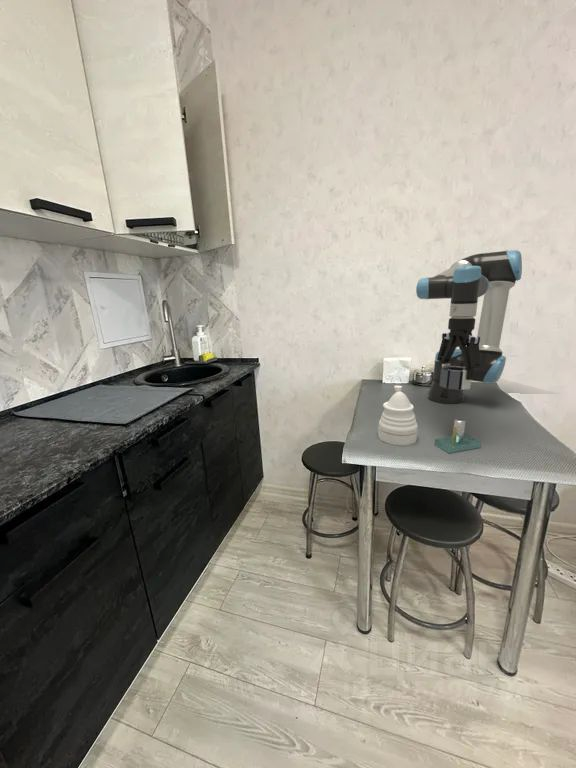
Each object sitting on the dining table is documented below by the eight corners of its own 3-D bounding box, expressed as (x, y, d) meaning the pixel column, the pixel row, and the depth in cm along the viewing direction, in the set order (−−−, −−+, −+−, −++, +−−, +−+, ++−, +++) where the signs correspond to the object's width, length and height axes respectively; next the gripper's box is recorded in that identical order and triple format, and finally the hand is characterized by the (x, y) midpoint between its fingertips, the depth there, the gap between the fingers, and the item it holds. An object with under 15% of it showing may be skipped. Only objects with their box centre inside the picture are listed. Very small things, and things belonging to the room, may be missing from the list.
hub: (455, 381, 112) (457, 365, 110) (476, 388, 103) (478, 370, 102) (434, 383, 110) (435, 367, 108) (452, 390, 101) (454, 372, 100)
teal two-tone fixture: (464, 439, 107) (467, 414, 104) (480, 447, 101) (483, 421, 98) (434, 444, 104) (436, 419, 102) (448, 453, 98) (451, 426, 96)
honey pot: (374, 430, 117) (376, 383, 112) (409, 429, 117) (412, 382, 112) (383, 445, 105) (385, 394, 100) (422, 444, 104) (426, 393, 99)
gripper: (429, 316, 110) (424, 378, 116) (479, 319, 89) (470, 395, 95) (447, 315, 112) (441, 377, 117) (501, 318, 91) (490, 392, 97)
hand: (454, 385), depth 106 cm, fingers closed on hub, 9 cm apart
